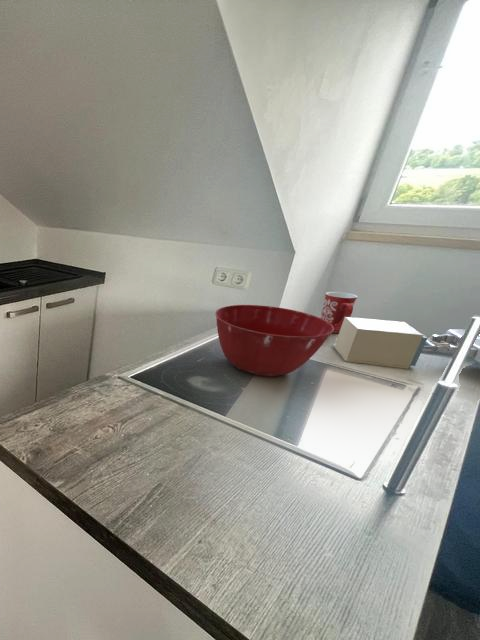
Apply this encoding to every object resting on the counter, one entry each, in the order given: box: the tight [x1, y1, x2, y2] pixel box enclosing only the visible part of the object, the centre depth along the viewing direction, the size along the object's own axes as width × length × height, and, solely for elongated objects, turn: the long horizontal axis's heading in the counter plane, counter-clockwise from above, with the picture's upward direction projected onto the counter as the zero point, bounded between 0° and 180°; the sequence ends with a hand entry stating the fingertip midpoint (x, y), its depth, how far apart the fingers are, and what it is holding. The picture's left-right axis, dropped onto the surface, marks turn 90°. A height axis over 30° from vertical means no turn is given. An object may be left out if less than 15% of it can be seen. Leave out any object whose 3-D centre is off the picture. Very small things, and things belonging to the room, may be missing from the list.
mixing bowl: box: [214, 304, 334, 377], centre depth 114 cm, size 28×28×16 cm
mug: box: [319, 291, 359, 334], centre depth 140 cm, size 13×9×14 cm
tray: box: [409, 334, 439, 367], centre depth 118 cm, size 18×11×9 cm, turn 65°
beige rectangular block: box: [334, 316, 424, 370], centre depth 119 cm, size 15×13×11 cm
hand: (440, 343), depth 113 cm, fingers open, 8 cm apart
